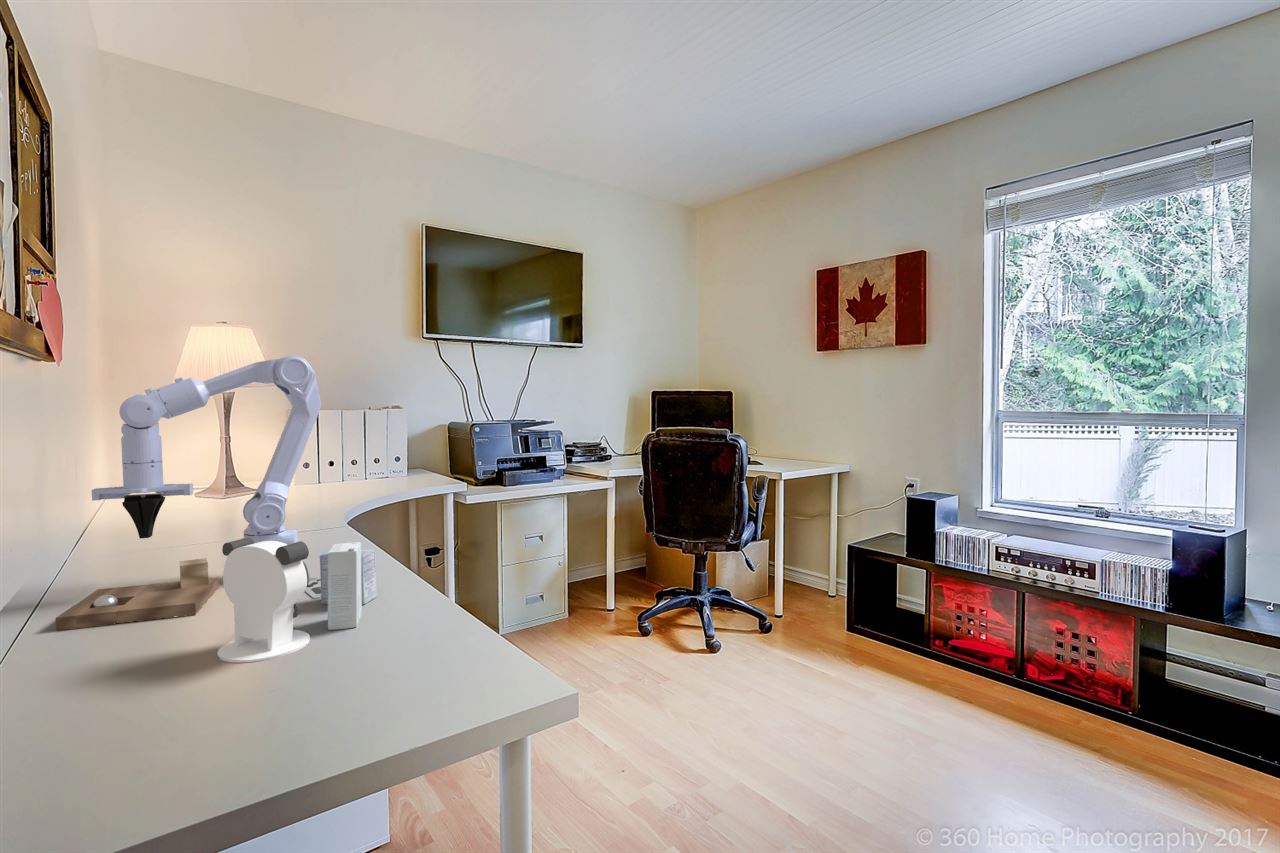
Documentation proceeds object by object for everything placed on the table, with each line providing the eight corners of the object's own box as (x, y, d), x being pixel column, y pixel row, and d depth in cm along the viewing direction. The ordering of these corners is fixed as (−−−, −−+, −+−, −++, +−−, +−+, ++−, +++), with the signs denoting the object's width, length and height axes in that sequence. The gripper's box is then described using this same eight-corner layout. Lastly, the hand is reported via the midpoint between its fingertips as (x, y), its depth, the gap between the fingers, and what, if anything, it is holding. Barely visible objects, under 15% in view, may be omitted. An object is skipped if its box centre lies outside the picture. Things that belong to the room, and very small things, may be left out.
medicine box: (377, 597, 114) (376, 549, 114) (364, 605, 110) (362, 555, 109) (335, 596, 115) (333, 548, 114) (320, 604, 110) (318, 554, 110)
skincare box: (333, 618, 103) (331, 543, 103) (363, 615, 105) (361, 541, 104) (326, 631, 97) (324, 552, 97) (359, 628, 99) (356, 549, 98)
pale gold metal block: (207, 579, 119) (206, 558, 119) (208, 584, 116) (207, 562, 116) (180, 583, 117) (179, 561, 116) (181, 588, 113) (180, 566, 113)
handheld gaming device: (341, 570, 130) (365, 587, 119) (342, 574, 130) (365, 591, 119) (293, 579, 125) (313, 597, 113) (293, 583, 125) (313, 601, 113)
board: (218, 588, 120) (217, 577, 120) (195, 614, 105) (195, 602, 105) (98, 600, 113) (97, 589, 113) (56, 630, 99) (55, 617, 99)
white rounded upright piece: (331, 636, 96) (328, 535, 95) (268, 667, 85) (264, 553, 84) (266, 628, 99) (262, 531, 98) (197, 657, 88) (192, 548, 87)
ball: (112, 617, 107) (126, 601, 108) (101, 620, 104) (116, 604, 105) (95, 605, 107) (110, 589, 108) (83, 608, 104) (99, 592, 105)
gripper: (82, 466, 109) (86, 545, 110) (184, 462, 115) (187, 537, 116) (99, 462, 116) (102, 537, 117) (194, 458, 121) (197, 530, 122)
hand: (145, 537), depth 117 cm, fingers closed
